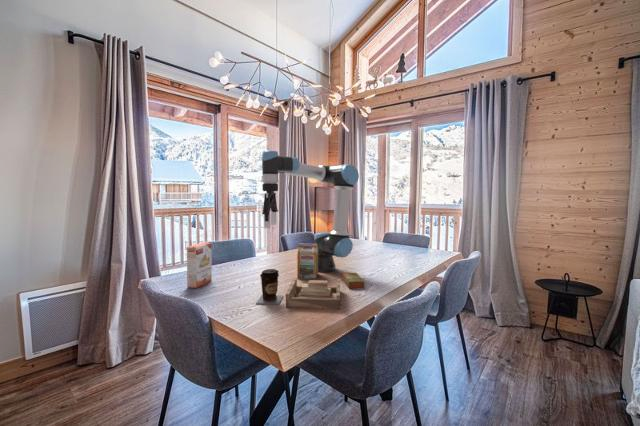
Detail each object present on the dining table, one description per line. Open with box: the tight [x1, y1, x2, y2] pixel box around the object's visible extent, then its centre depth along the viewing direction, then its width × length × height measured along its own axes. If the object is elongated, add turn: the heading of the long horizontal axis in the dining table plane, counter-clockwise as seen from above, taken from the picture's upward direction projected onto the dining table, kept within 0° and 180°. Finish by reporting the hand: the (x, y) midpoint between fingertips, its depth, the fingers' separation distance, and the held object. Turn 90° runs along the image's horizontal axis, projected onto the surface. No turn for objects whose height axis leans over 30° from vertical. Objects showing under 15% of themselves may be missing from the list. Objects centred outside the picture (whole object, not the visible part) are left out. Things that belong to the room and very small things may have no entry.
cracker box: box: [186, 242, 213, 289], centre depth 159 cm, size 14×6×21 cm, turn 168°
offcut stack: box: [300, 279, 332, 297], centre depth 146 cm, size 5×14×6 cm, turn 86°
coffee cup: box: [259, 268, 280, 301], centre depth 137 cm, size 9×8×13 cm
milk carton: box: [296, 243, 319, 280], centre depth 174 cm, size 11×10×19 cm
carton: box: [341, 272, 365, 290], centre depth 161 cm, size 8×16×4 cm, turn 8°
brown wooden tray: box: [285, 277, 341, 310], centre depth 139 cm, size 22×23×6 cm
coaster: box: [255, 294, 284, 306], centre depth 137 cm, size 10×10×1 cm
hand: (270, 226), depth 150 cm, fingers open, 13 cm apart
